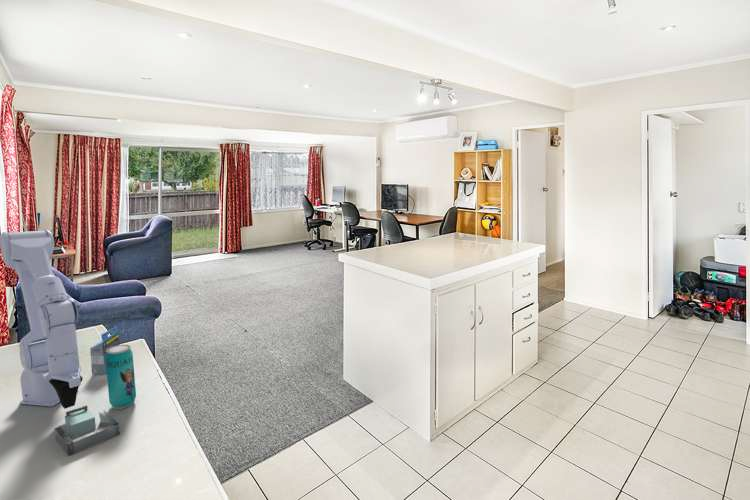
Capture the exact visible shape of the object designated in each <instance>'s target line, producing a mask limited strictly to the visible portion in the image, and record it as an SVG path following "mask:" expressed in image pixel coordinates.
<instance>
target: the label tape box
mask: <svg viewBox="0 0 750 500" xmlns="http://www.w3.org/2000/svg"><path fill="white" fill-rule="evenodd" d="M110 334H111V335H110ZM100 336H101V340H100V341H99V342H98V343H96V344H94V345H93V346H92V347H90V349H89V350H90V351H89V353H90V364H91V365H90V367H91V375H96V376H97V375H98V376H100V375H107V371H106V361H105V356H106V353H107V352H106V350H107V349H108V348H110V347H113V346H117V345H120V339H119V338H120V335H119V327H118V325H115V326H114V327H112V328H110V329H109V330H107V331H105V332H104V333H102V334H100Z"/></svg>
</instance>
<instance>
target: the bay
mask: <svg viewBox="0 0 750 500" xmlns="http://www.w3.org/2000/svg"><path fill="white" fill-rule="evenodd" d="M98 414H99V422H100V423H101V424H102V425H103V426H104V427H101V428H100V429H98V430H95V431H92V432H90V433H87V434H85V435H82V436H80V437H77V438H74V439H71V438H70V436H69V435H68V434H67V433H66V432H65V430H64V429H63V428H62V426H57V427H55V428H54V429H53V430H54V437H55V441H57V443H58V445H59V446H61V448H62V449H63V450H64V452H66V454H67V455H68V457H69V456H72V455H75V454H77V453H79V452H81V451H84V450H87V449H88V448H90V447H93V446H96V445H97V444H100V443H103V442H106V441H107V440H109V439H113V438H114V437H117V436H120V435H121V428H120V422H118V421H117V420H116V419H115V418H113V417H112V415H110V414H109V413H108V412H107V411H106V410H105V409H104V410H101V411H99V412H98Z"/></svg>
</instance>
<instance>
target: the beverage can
mask: <svg viewBox="0 0 750 500" xmlns="http://www.w3.org/2000/svg"><path fill="white" fill-rule="evenodd" d="M106 352H107V353H106V356H105V361H106V371H107V373H106V378H107V379H106V380H107V390H108V400H109V404H110V405H111V407H112V408H113V409H115V410H123V409H126V408H129V407H131V406H132V405H133V404H134V403H135V401H136V397H137V391H136V380H135V379H136V378H135V368H134V367H135V366H134V355H133V350H132V349H131V345H129V344H119V345H117V346H113V347H110V348H108V349H107V350H106Z"/></svg>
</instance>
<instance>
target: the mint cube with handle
mask: <svg viewBox="0 0 750 500" xmlns="http://www.w3.org/2000/svg"><path fill="white" fill-rule="evenodd" d="M64 420H65V428H66V430H67V432H68V433H69V435H70V436H71V438H74V437H76V436H79V435H82V434H85V433H87V432H90V431H92V430H95V429H97V426H96V425H97V424H96V417H95V415H94V414H93V413H92V411H91V410H90V409H89V407H88V405H83V406H80V407H77V408H75V409H71V410H68V411H66V412H65V415H64Z"/></svg>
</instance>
